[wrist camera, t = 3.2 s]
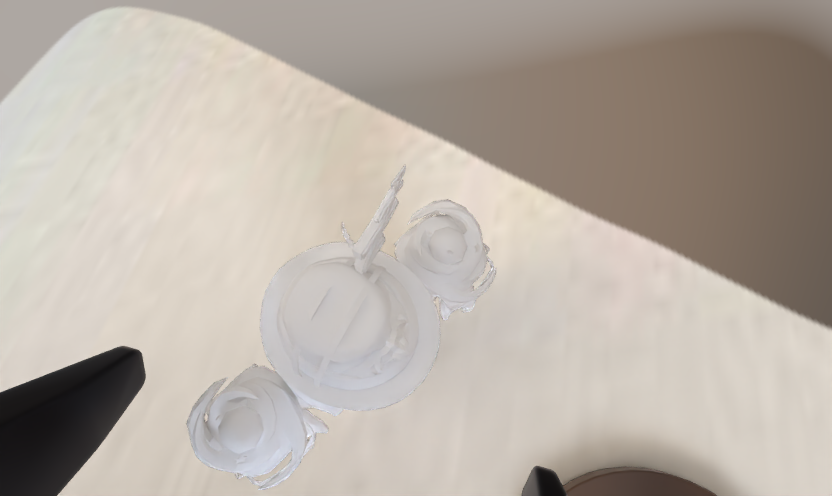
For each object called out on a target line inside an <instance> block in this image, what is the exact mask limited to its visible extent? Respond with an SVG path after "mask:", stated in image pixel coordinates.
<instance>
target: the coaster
mask: <svg viewBox="0 0 832 496" xmlns="http://www.w3.org/2000/svg"><path fill="white" fill-rule="evenodd" d="M563 487H564V489H565V491H566V493H567V495H568V496H717V495H716V494H714V493H712V492H711V491H709V490H708V489H706V488H703V487H701V486H699V485H697V484H695V483H693V482H691V481H689V480H686V479H683V478H680V477H677V476H674V475H671V474H668V473H665V472H662V471H658V470H652V469H647V468H639V467H617V468H607V469H603V470H599V471H595V472H591V473H588V474H585V475H583V476H581V477H578V478H576V479H573V480H572V481H570V482H568V483H567V484H565V485H564V486H563Z"/></svg>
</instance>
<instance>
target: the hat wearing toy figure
mask: <svg viewBox="0 0 832 496" xmlns="http://www.w3.org/2000/svg"><path fill="white" fill-rule="evenodd" d="M405 169H406V164H405V166H403V168H402V169H401V170H400V172H399V173H398V175H397V176H396V177H395V179H394V180H393V181H392V183H391V189H390V188H389V190H388V192H387V194H386V196H385V197H384V199H383V201H382V203H381V205H380V206H379V208H378V210H377V212H376V213H375V215H374V217H373V218H372V220H371V221H370V223H369V224H368V226H367V228H366V229H365V231H364V232H363V234H362V235H361V237H360V238H359V240H358V241H357V243H353V240H351V239H350V235H349V234H347V230H346V229H345V228H344V223H343V222H342V232H343V236H344V237H345V238H346V242H333V243H328V244H323V245H320V246H316V247H313V248H310V249H308V250H306V251H304V252H303V253H301V254H299V255H297V256H296V257H294V258H292V259H291V260H289V261H288V262H287V263H286V264H285V265H284V266H282V267H281V268H280V269H279V271H278V272H277V273H276V274H275V276H274V277H273V278H272V280H271V282H270V284H269V286H268V288H267V289H266V292H265V295H264V298H263V302H262V308H261V319H260V331H261V337H262V343H263V346H264V349H265V353H266V356H267V358H268V360H269V361H270V363H271V364H272V366H273V368H274V369H275V370H276V371H275V372H274V371H272V370H270V369H269V368H267V367H265V366H260V367H258V366H257V365H256V364H253V365H252V366H251V367H249V368H248V369H245V370H244V371H243V372H242V373H241V374H240V375H239V376H237V377H236V378H235V379H234V380H233V381H232V382H231V383H230V384H229V385H228V386H227V387H226V388H225V389H224V390H223V391H221V392H220V393H219V394H218V395H217V396H216V397H214V396H215V394H216V393H217V391H218V390H219V389H220V387H221V386H222V384H223V383H224V382H225V381H226V379H227V378H228V377H227V378H225V379H222V380H220V381H217V382H215V383H213V384H212V385H211V386H210V387H209V389H208V390H207V391H206V392H205V393H204V394H203V395H202V396H201V397H200V398H199V400H198V401H197V402H196V403H195V405H194V406H193V408H192V411H191V413H190V416H189V418H188V421H187V428H188V432H189V436H190V440H191V444H192V447H193V449H194V452H195V454H196V457H197V458H198V459H199V460H201V461H202V462H203V463H204V464H206V465H207V466H208V467H211V468H214V469H217V470H221V471H226V472H231V473H234V474H235V476H236V478H237V479H240V478H242V477H244V476H247V478H248V479H249V480H250V481H251V482H252V484H254V485H258V486H261V485H262V486H261V487H260V488H259V489H258V490H265V489H268V488H270V487H273V486H275V485H277V484H279V483H280V482H282V481H284V480H285V479H287V478H288V477H289V476H290V475H291V474H292V472H293V471H294V470H295V469H296V468H297V466H298V465H299V464H300V463H301V460H302V457H303V456H304V455H305V454H306V453H307V452H308V451H309V450H310V449H312V448H313V447H314V441H315V438H316V434H315V433H327V432H328V427H327V425H326V424H325V423H324V422H323V421H322V420H321V419H319V418H318V417H316V416H314V415H313V414H312V413H311V412H309V411H308V410H307V408H312V407H313V408H316V409H319V410H321V411H324V412H327V413H330V414H332V415H334V416H336V415H338V414H340V413H341V412H342V410H343V409H348V410H374V409H380V408H385V407H387V406H390V405H392V404H395V403H397V402H399V401H401V400H402V399H404V398H405V397H407V396H408V395H410V394H411V393H412V392H413V391H414V390H415V389H416V388H417V387H418V386H419V385H420V384H421V383H422V382H423V381H424V380H425V378H426V376H427V375H428V373H429V371H430V370H431V368H432V366H433V364H434V361H435V358H436V356H437V353H438V349H439V342H440V320H439V316H438V312H437V308H436V305H435V303H434V300H435V299H436V298H437V297H439V301H440V314H441V316H442V318H443V319H444V320H447V319H448V317H449V315H450V314H451V313H452V312H454V311H455V310H457V309H459V308H460V307H461V308H460V309H461V311H462V312H463V313H465V312H469V311H471V310H472V309H473V308H474V305H475V302H476V298H478V297H479V296H481V295H482V294H483V293H485V292H486V291H487V290H488V288H489V287H490V285H491V284H492V282H493V280H494V277H495V275H496V268H495V269H494V266H493V262H492V261H491V260H490V259H489V258H488V257H487V255H486V254H488V252H489V249H490V248H489V247H488V246H486V245H485V244H484V243H483V239H482V233H481V230H480V226H479V224H478V222H477V221H476V219H475V218H474V216H473V215H472V214H471V213H469V211H468V210H467V209H466V208H465V207H463V206H461V205H459V204H457V203H455V202H453V201H451V200H448V199H447V200H440V201H434V202H432V203H430V204H428V205H426V206H424V207H423V208H421V209H420V210H418V211H417V212H415V213H414V214H413V215H412V217H411V219H410V220H409V222H408V224H410V223H412V222H413V221H415V220H418V219H420V218H422V217H424V216H426V215H427V216H426V217H425V218H423V219H422V220H421V221H420V222H419V223H417V224H416V225H415V226H414V227H412V228H411V229H409V230H408V231H407V232H406V233H405V234H403V235H402V236H401V237H400V238H399V240H398V241H397V242H396V243H395V244H394V245H395V247H396V250H395V255H396V258H397V259H395V258H394V257H392V256H390V255H388V254H386V253H384V252H382V251H380V249H381V247H382V245H383V244H384V242H385V237H384V234H383V231H384V229H385V227H386V226H387V224H388V222H389V220H390V218H391V216H392V215H393V213H394V211H395V209H396V207H397V205H398V204H399V202H398V200H397V198H396V194H397V193H398V191H399V190H400V189H401V187H402V186H403V180H402V181H401V179H402V177H403V175H404V173H405ZM393 187H394V188H393ZM439 212H440V213H443V214H446V215H441V214H440V213H439ZM433 215H436V216H434V217H432V216H433ZM408 224H407V225H408ZM485 250H486V252H485ZM487 261H488V262H489V264H490V267H491V270H490V271H489V273H488V275H487V277H486V278H485V279H484V281H483V282H482V283H481V285H480V286H479V287H478V288H477V289H475V290H474V286H473V285H472V284H473V283H474V282H475V281H476V280H478V279H479V278H480V277H481V276H482V274H483V273H484V270H485V267H486V264H487ZM213 397H214V398H213ZM212 398H213V399H212ZM205 413H207V415H208V419H207V421H206V422H205V420H204V416H205ZM310 435H311V438H310V439H308V436H310ZM291 451H292V459H291V460H290V462H289V463H288V464H287V466H286V467H285V468H283V469H282V470H280V471H279V472H277V473H276V474H274V475H273V476H271V477H269V478H267V479H266V480H264V481H262V482H260V481H258V480H255V479H254V478H253V477H256V476H259V475H263V474H267V473H269V472H270V471H271V470H272V469H274V468H275V467H276V466H277V465H278V464H279V463H280V462H281V461H282V460H283V459H284V458H285V457H286V456H287V455H288V454H289V453H290V452H291ZM241 474H242V475H241ZM263 484H264V485H263Z"/></svg>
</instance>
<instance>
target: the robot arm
mask: <svg viewBox="0 0 832 496" xmlns="http://www.w3.org/2000/svg"><path fill="white" fill-rule="evenodd" d="M145 378H146V374H145V368H144V363H143V357H142V353H141V352H140V351H139V350H137V349H133V348H130V347H126V346H120V347H117V348H114V349H112V350H109V351H106V352H104V353H101V354H99V355H96V356H93V357H91V358H88V359H86V360H83V361H81V362H78V363H75V364H73V365H70V366H68V367H65V368H62V369H60V370H57V371H55V372H52V373H49V374H47V375H44V376H42V377H39V378H37V379H34V380H31V381H29V382H26V383H24V384H21V385H18V386H16V387H13V388H11V389H8V390H5V391H3V392H0V496H57V495H58V494H59V493H60V492H61V491H62V489H63V488H64V487H65V486H66V485H67V484H68V482H69V481H70V480H71V479H72V478H73V477H74V475H75V474H76V473H77V472H78V471H79V470H80V468H81V467H82V466H83V465H84V464H85V463H86V462H87V460H88V459H89V458H90V457H91V456H92V454H93V453H94V452H95V451H96V450H97V448H98V447H99V446H100V444H101V443H102V442H103V441H104V439H105V438H106V437H107V435H108V434H109V432H110V431H111V430H112V428H113V427H114V425H115V424H116V423H117V421H118V420H119V418H120V417H121V416H122V414H123V413H124V411H125V410H126V409H127V407H128V406H129V404H130V403H131V402H132V400H133V399H134V397H135V396H136V395H137V393H138V392H139V391H140V389H141V388H142V386H143V384H144V382H145ZM522 496H568V495H567V493H566V491H565V489H564V487H563V485H562V483H561V481H560V480H559V478H558V476H557V474H556V473H555V472H554V471H553V470H551V469H547V468H544V467H540V466H535V467H534V468H533V469H532V471H531V473H530V475H529V478H528V480H527V482H526V484H525V486H524V488H523V491H522Z"/></svg>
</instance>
